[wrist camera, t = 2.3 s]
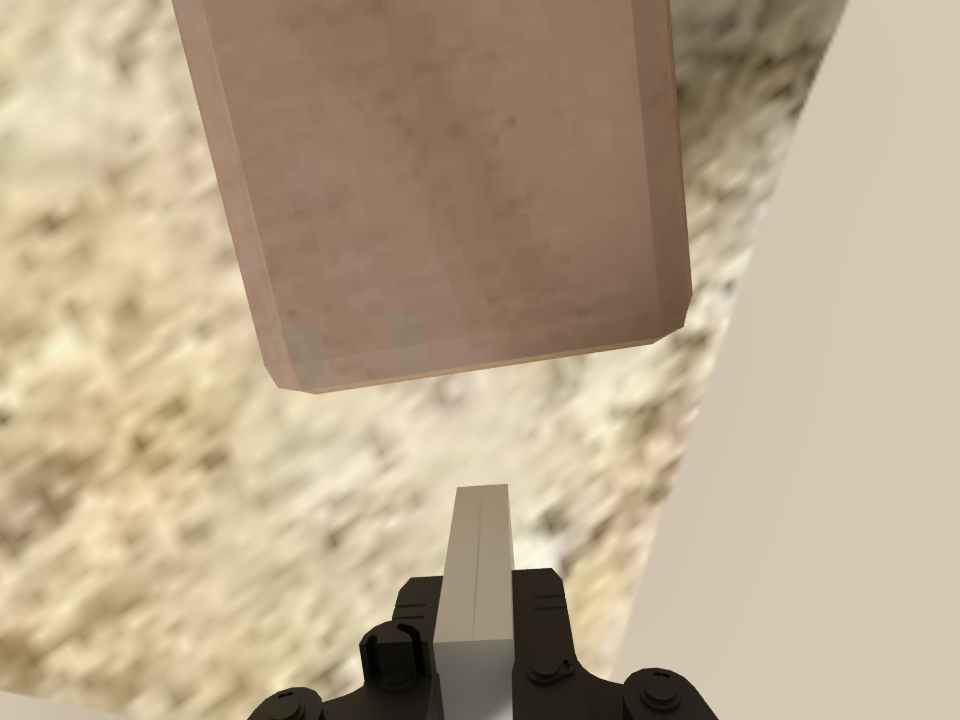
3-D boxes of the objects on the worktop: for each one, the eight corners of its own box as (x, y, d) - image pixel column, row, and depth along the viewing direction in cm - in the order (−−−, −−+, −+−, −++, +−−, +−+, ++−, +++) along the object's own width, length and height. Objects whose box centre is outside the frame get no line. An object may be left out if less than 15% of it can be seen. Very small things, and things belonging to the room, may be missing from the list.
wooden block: (558, 70, 30) (670, -211, 10) (581, 268, 32) (711, 346, 12) (365, 106, 30) (124, -95, 11) (401, 297, 33) (257, 414, 13)
